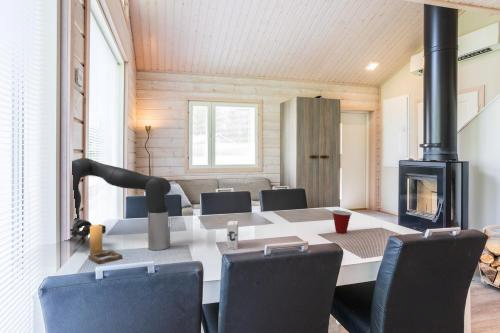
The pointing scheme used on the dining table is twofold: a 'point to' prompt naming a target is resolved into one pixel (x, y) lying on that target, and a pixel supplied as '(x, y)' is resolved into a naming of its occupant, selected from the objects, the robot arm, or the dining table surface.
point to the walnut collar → (99, 261)
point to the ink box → (232, 235)
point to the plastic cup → (341, 220)
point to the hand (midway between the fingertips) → (94, 232)
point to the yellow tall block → (95, 239)
